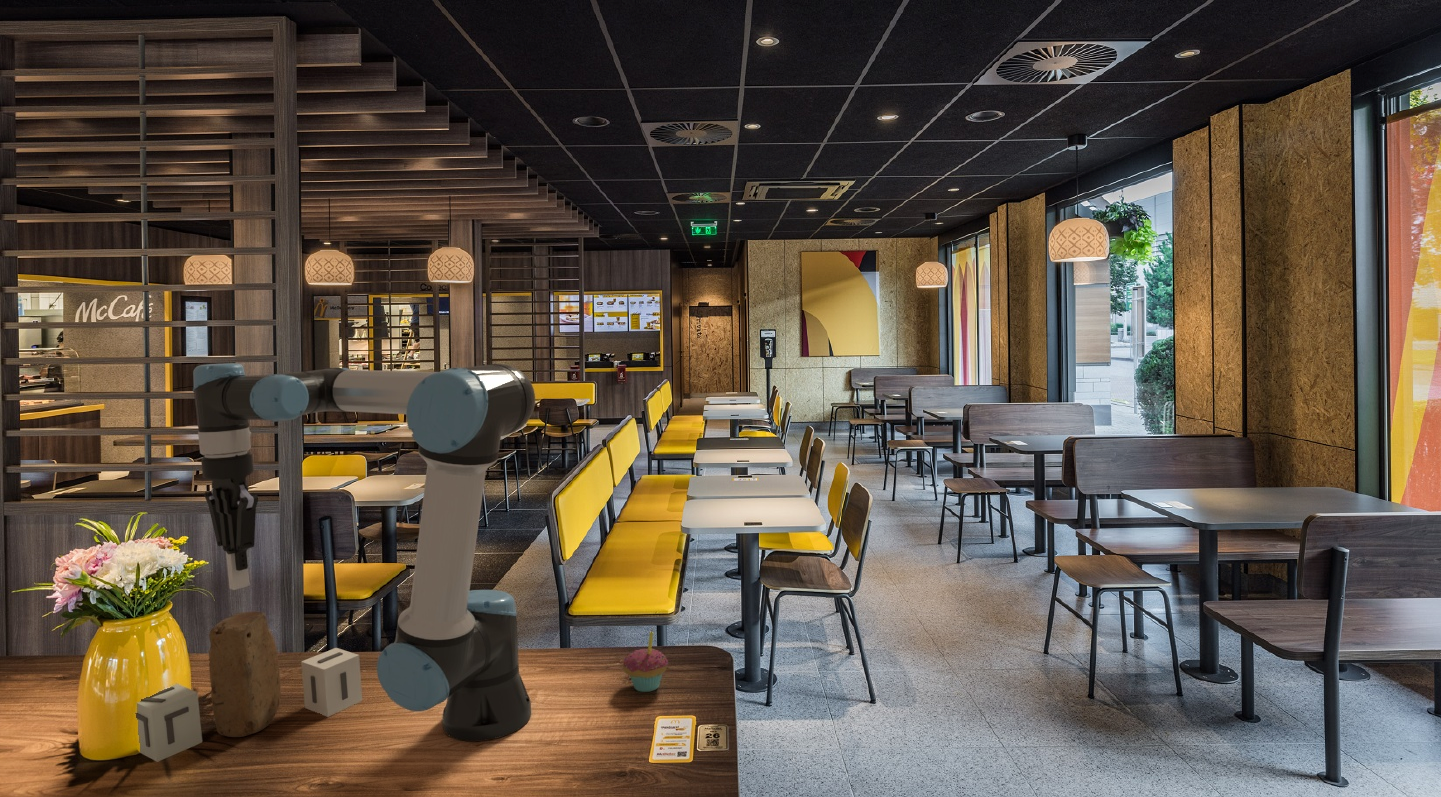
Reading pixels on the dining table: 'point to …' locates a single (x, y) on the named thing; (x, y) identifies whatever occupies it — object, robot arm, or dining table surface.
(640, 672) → the cupcake
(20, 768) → the dining table surface
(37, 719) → the dining table surface
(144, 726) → the numbered cube seven
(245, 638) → the block
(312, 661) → the numbered cube one
